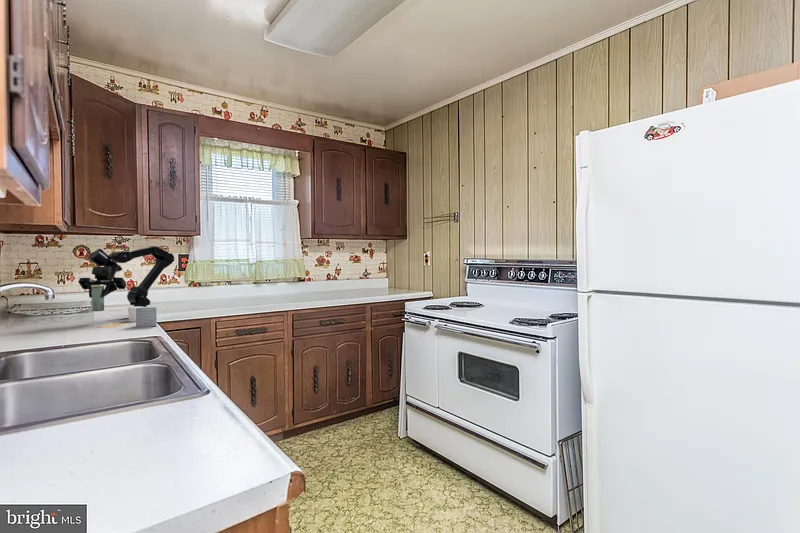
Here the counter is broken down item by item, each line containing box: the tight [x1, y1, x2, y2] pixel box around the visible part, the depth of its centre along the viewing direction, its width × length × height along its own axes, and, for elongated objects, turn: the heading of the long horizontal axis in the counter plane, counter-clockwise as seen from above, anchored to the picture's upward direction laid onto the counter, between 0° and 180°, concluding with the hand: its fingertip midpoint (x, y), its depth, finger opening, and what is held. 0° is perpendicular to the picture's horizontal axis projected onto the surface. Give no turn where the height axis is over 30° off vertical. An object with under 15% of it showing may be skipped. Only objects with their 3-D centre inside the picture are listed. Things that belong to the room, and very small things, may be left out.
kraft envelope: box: [95, 322, 131, 329], centre depth 192 cm, size 14×9×1 cm, turn 8°
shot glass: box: [127, 306, 142, 322], centre depth 207 cm, size 7×7×7 cm
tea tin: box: [90, 285, 105, 312], centre depth 197 cm, size 5×5×12 cm
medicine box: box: [135, 306, 158, 328], centre depth 191 cm, size 8×4×9 cm, turn 118°
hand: (95, 297), depth 196 cm, fingers closed on tea tin, 5 cm apart
